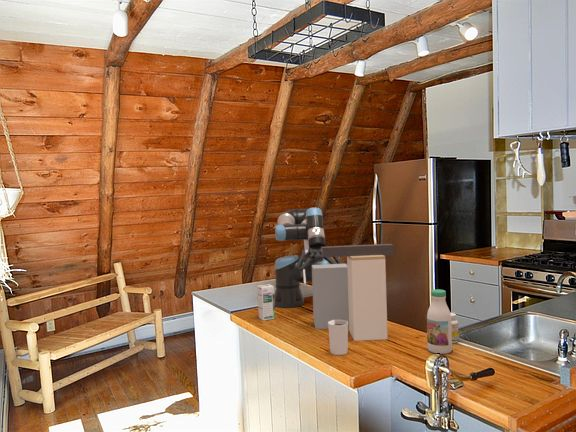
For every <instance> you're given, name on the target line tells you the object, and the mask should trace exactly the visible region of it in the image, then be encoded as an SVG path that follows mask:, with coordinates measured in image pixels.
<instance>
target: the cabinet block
mask: <svg viewBox="0 0 576 432" xmlns="http://www.w3.org/2000/svg"><path fill="white" fill-rule="evenodd" d="M346 264H347V274H348V305H349V328H348V333H349V334H350V336H351V338H352V339H353V341H356V342H357V341H379V340H381V341H382V340H388V339H389V338H388V310H387V303H388V301H387V272H386V271H387V270H386V268H387V267H386V255H368V256H346Z"/></svg>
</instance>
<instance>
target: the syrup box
mask: <svg viewBox="0 0 576 432" xmlns="http://www.w3.org/2000/svg"><path fill="white" fill-rule="evenodd" d="M256 287H257V307H258V309H257V310H258V319H260V320H261V321H263V322H264V321H271V320H275V319H276V306H275V298H274V294H275V286H274V285H273V284H270V283H268V284H261V285H257V286H256Z"/></svg>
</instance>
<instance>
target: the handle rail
mask: <svg viewBox="0 0 576 432" xmlns="http://www.w3.org/2000/svg"><path fill="white" fill-rule="evenodd" d="M321 253H322V257H330V258H333V257H338V258H342V257H347V256H368V255H384V256H386V255H387V256H389V255H392V256H393V255H394V254H395V253H394V244H392V243H383V244H382V243H381V244H380V243H379V244H357V245H356V244H355V245H332V246H329V245H326V247H321Z"/></svg>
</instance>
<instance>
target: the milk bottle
mask: <svg viewBox="0 0 576 432" xmlns="http://www.w3.org/2000/svg"><path fill="white" fill-rule="evenodd" d="M430 294H431V302H430V305H429V308H428V309H427V314H426V334H427V335H426V340H427V341H426V342H427V350H428V352H430V353H433V354H437V353H440V355H445V354H447V355H448V354H450V353H452V350H453V343H452V323H451V314H450V313H451V311H450V309H449V307H448V304H447V301H446V297H447V291H446V290H444V289H439V288H437V289H432V290H431V291H430Z"/></svg>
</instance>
